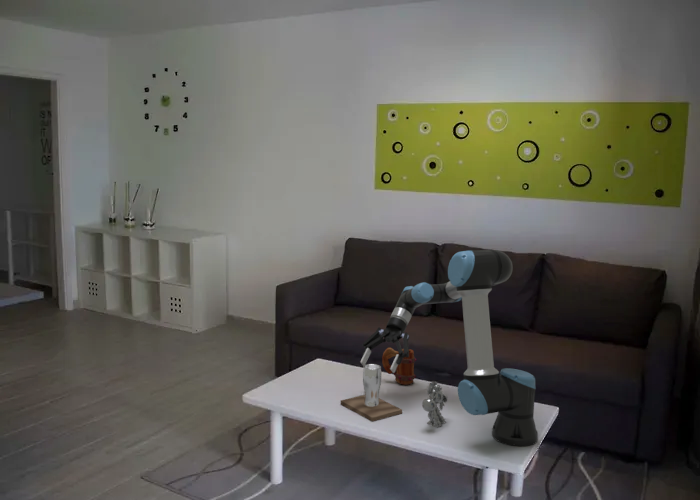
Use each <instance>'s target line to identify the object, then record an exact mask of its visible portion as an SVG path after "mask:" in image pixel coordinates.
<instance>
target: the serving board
mask: <svg viewBox="0 0 700 500" xmlns="http://www.w3.org/2000/svg"><path fill="white" fill-rule="evenodd" d="M364 398H365V394H362V395H359V396H358V395H357V396H354V397H350V398H344V399H342V400H340V405H341V406H343V407H345V408H347V410H348V409H349V410H350V411H353V412H354V413H355V414H358V415H359V416H361V417H363V418H364V419H367V420H368V421H370V422H376V421H380V420H383V419H387V418H391V417H394V416H398V415H401V414H403V409H402V408H399V407H397V406H396V405H393V404H392V403H389V402H387V401H385V400H383V399H381V398H380V397H379V406H378V407H376V408H368V407H365V406H364V405H363V403H364Z"/></svg>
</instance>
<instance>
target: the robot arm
mask: <svg viewBox="0 0 700 500" xmlns="http://www.w3.org/2000/svg"><path fill="white" fill-rule="evenodd" d="M513 269H514V268H513V262H512V260H511V259H510V257H509V255H507V254H506V253H505V252H504V251H501V250H498V249H485V250H483V249H482V250H480V249H479V250H476V249H475V250H472V249H471V250H470V249H469V250H463V251H458V252H456V253H455V254H454V255H452V257H451V259H449V263H448V266H447V277H448V280H449V281H448V282H445V283H439V284H431V283H428V282H425V281H424V282H420V283H416V285H414V286H413V285H410V286H405V287H404V288H403V290H402V292H401V294H400V296H399V297H398V301H397V302H396V305H395V307H394V309H393V310H392V313H391V315H390V318H389V319H388V321H387V324H386V327H385V328H384V329H381V327H378V328H377V329H376V330H375V331H374V333H372V334H371V335H369V337H368V338H367V339H366V340H365V341H364V342H363V343H361V345H362V347H364V350H363V352H362V358H361V360H360V361H359V362H360V364H361V365H362V366H363V367H364V365H367V362H368V359H369V358H370V356H371V354H372V350H373V349H375V348H377V347H378V346H379V345H381V344H382V343H386V342H387V343H392V344H395V345H396V349H397V351H398V352H399V354H397V355H396V356H394V357H395V358H394V359H393V362H392V364H391V368H390V369H391V371H392V372H393V373H392V374H394V373H395V372H396V371H395V370H396V368H397V366H398V365H400V364H401V361H402V359H403V358H404V357H407V358H408V357H409V349H410V348H409V340H410V335H409V334H408V333H407V332H405V331H406V329H407V327H408V325H409V322H410V321H411V318H412V316H413V314H414V312H415V310H416V309H417V308H418V307H421V306H422V305H431V304H432V305H433V304H443V303H446V304H447V303H452V304H453V303H457V302H460V301H461V302H462V303H461V304H462V306H461V307H462V315H463V327H464V341H465V351H466V352H465V353H466V362H467V369H466V370H465V371H464V372H463V379H462V380H461V381H460V382H459V383H458V386H457V395H458V400H459V403H460V405H461V406H462V407H463V409H464V410H465V411H466V413H467V414H469V415H471V416H486V415H488V414H493V413H494V414H495V413H497V415H496V418H495V421H494V423H493V425H492V428H491V436H492V437H493V439H495V440H496V441H498V442H500V443H502V444H505V445H508V446H517V447H528V446H531V445H534V444H536V443H537V442H538V435H539V433H538V430H537V428H536V426H537V425H536V423H535V418H534V411H535V398H536V389H537V387H536V377H535V376H534V375H533V374H531V373H530V372H528V371H526V370H525V371H524V370H521V369H515V368H509V367H508V368H507V367H506V368H501V370H500V371H499V370H498V369H497V368H495V363H494V353H493V342H492V341H493V340H492V332H491V321H490V319H491V318H490V306H489V305H490V304H489V297H488V296H489V293H490V292H491V291H492V290H493V288H492V287H493V286H497V285H499V284H503V283H504V282H507V280H509V278H510V277H511V275H512V273H513ZM401 339H403V340H402V342H403V348H402V346H401V342H400V340H401ZM402 349H404V353H403V351H402Z"/></svg>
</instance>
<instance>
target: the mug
mask: <svg viewBox="0 0 700 500" xmlns="http://www.w3.org/2000/svg"><path fill="white" fill-rule="evenodd" d="M402 351H403V353H404V348H402ZM397 354H399V352H398V350H395V349H394V348H392V347H387V348H386V349H385V350H384V351H383V353H382V358H381V359H382V360H381V362H382V367H383V368H384V370H385V372H386V373H387V374H389V375H391V374H393V376H394V377H395V379H394V380H395V381H396V382H397V383H398V384H400V385H403V386H404V385H405V386H408V385H411V384H412V383H414V380H415V379H416V378H417V375H416V374H415V372H414V371H415V369H414V367H415V362H416V361H417V358H416V357H415V352H414V350H413V349H410V348H409V357H408V358H407V357H404V358H403V359H402V361H401V364H400V365H398V366H397V368H396V370H395V373H393V372H392V371H391V369H390V368H391V366H392V364H391V363H390V361H389V359H391V358H393V357H396V355H397Z"/></svg>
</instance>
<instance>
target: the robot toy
mask: <svg viewBox="0 0 700 500" xmlns="http://www.w3.org/2000/svg"><path fill="white" fill-rule="evenodd" d="M442 389H443V387H442V386H441V385H440V384H438V382H437V381H436V380H435V381H431V382H429V383H428V386H427V389H426V390H427V394H428V395H429V397H427V398H424V399H423V401H422V403H421V406H422V409H423V410H424V411H426V412H428V413H427V417H428V419H429V421H428V422H426V424H427V425H430V426H433V427H436V428H440V427H442V426H443V425H445V423H446V421H445V420H446V418H444V415H442V412H441V411H443V408H444V407H445V403H446V402H447V401H448V396H447V395H446V394H444V392H443V391H442ZM438 404H439V406H438ZM442 424H443V425H442Z"/></svg>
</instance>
